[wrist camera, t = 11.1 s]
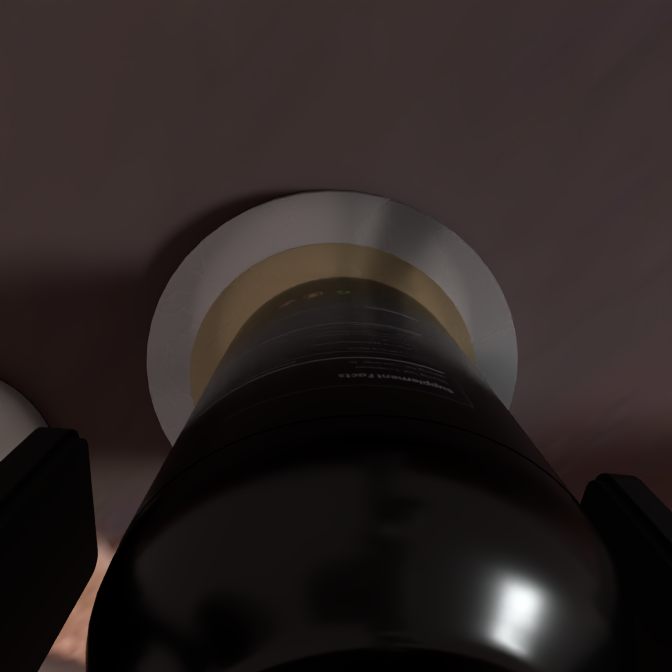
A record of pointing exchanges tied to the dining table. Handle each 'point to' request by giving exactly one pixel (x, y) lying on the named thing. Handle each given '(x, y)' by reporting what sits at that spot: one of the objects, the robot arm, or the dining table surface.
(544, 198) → the dining table surface
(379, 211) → the silver and gold coaster
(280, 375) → the supplement bottle
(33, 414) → the plastic flange
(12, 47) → the dining table surface
